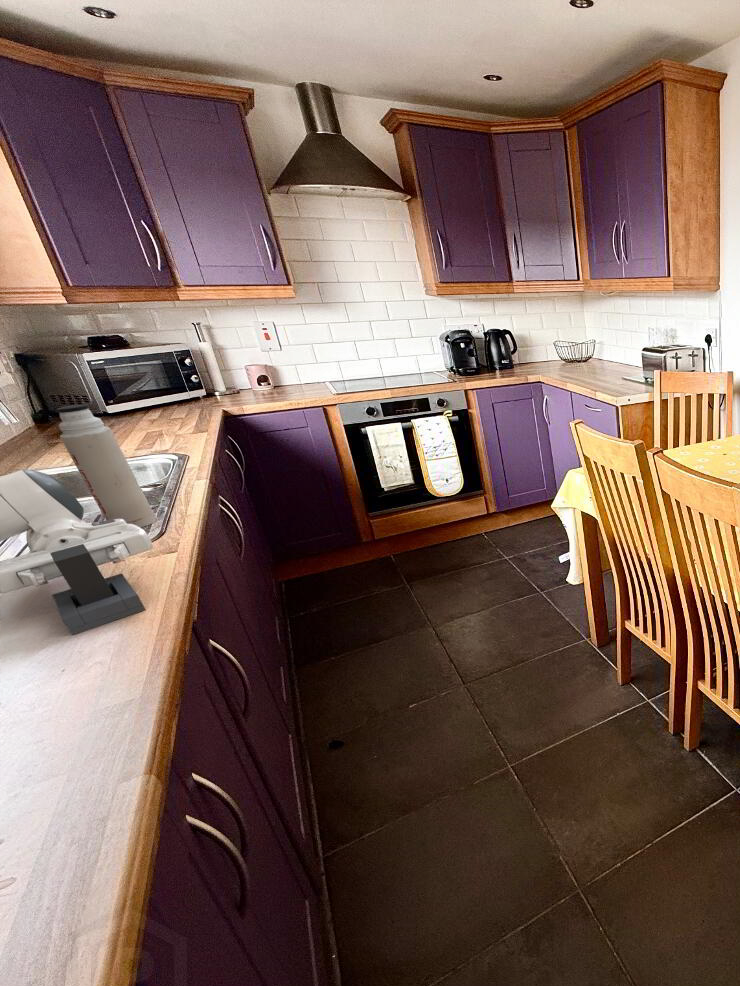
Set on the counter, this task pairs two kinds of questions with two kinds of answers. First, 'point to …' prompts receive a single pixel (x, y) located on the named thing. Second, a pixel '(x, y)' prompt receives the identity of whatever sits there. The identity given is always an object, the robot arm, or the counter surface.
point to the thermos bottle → (103, 466)
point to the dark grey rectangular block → (82, 574)
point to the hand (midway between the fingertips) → (79, 569)
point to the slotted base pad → (98, 606)
